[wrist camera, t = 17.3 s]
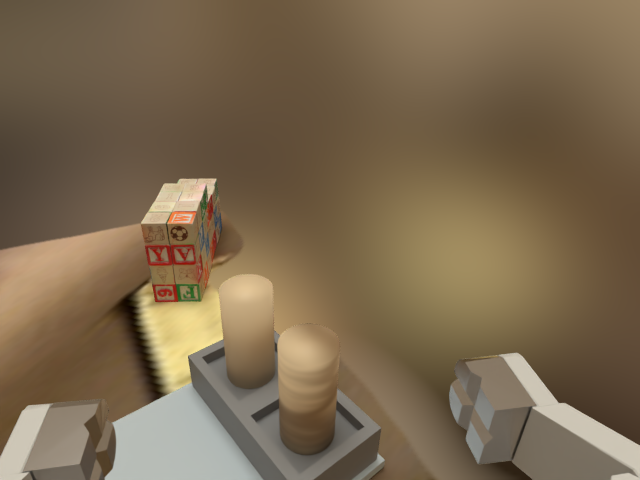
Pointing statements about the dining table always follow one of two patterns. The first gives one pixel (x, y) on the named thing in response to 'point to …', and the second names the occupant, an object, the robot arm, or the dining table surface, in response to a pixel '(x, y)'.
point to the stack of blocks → (182, 238)
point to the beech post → (307, 387)
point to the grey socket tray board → (238, 412)
